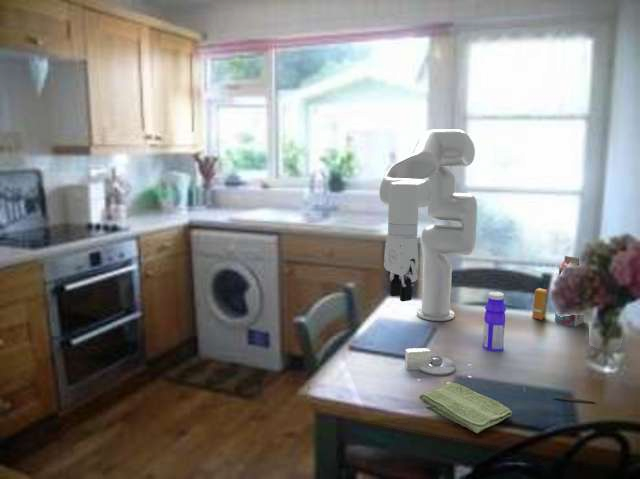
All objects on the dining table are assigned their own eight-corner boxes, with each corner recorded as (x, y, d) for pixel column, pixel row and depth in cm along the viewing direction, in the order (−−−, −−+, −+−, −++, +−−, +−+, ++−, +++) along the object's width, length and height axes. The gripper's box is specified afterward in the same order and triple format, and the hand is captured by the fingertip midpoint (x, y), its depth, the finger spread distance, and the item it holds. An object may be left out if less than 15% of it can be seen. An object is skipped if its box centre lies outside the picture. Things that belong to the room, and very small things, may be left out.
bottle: (504, 357, 151) (508, 297, 147) (483, 355, 152) (487, 296, 148) (501, 347, 158) (505, 290, 154) (481, 345, 159) (484, 289, 155)
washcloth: (478, 439, 111) (479, 425, 111) (415, 405, 125) (415, 392, 124) (515, 418, 119) (516, 405, 118) (451, 389, 133) (452, 377, 132)
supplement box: (542, 320, 180) (544, 291, 178) (531, 317, 182) (534, 289, 180) (545, 317, 183) (548, 289, 181) (535, 315, 185) (537, 287, 183)
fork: (596, 407, 124) (597, 399, 123) (523, 399, 128) (524, 391, 127) (594, 402, 126) (595, 394, 126) (522, 393, 130) (523, 386, 130)
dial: (447, 358, 147) (447, 340, 146) (461, 374, 137) (462, 355, 136) (400, 360, 145) (401, 343, 144) (411, 377, 135) (412, 358, 134)
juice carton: (574, 326, 174) (581, 260, 170) (554, 321, 179) (560, 257, 175) (583, 322, 178) (590, 257, 174) (563, 317, 183) (569, 254, 179)
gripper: (374, 225, 144) (372, 291, 148) (407, 236, 129) (405, 309, 133) (398, 223, 147) (396, 288, 151) (433, 234, 132) (431, 305, 135)
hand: (400, 297), depth 142 cm, fingers open, 4 cm apart
